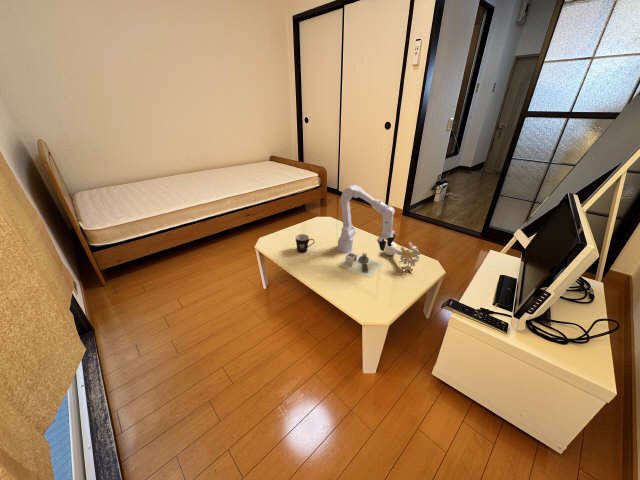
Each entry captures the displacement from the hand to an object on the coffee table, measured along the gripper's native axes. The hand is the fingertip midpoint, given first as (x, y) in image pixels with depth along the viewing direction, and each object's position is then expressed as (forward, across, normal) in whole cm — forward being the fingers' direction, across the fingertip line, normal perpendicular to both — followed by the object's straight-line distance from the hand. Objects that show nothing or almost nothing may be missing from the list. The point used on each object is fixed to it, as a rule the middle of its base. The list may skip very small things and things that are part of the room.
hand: (385, 248), depth 149 cm
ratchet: (+9, -12, +7) cm, 17 cm away
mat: (+9, -14, +9) cm, 19 cm away
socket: (+8, -18, +13) cm, 23 cm away
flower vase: (+11, +8, -5) cm, 15 cm away
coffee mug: (+6, -29, +43) cm, 52 cm away
